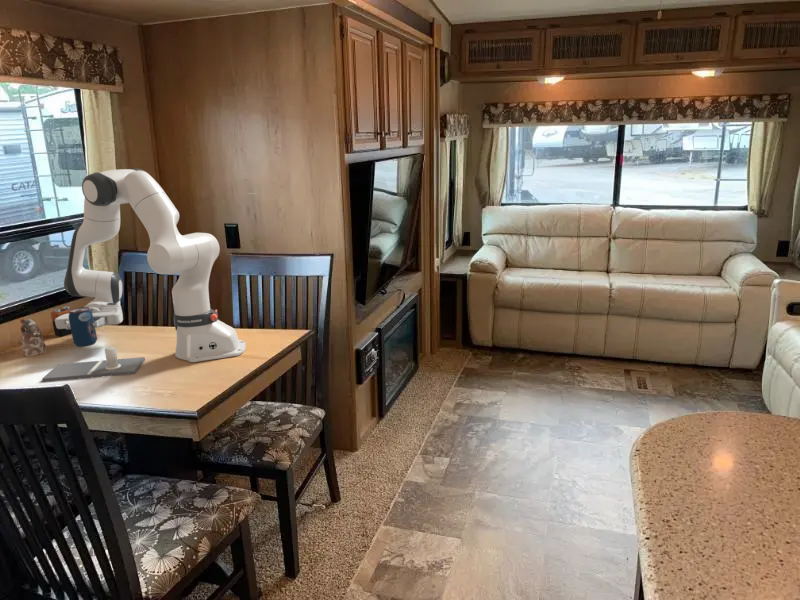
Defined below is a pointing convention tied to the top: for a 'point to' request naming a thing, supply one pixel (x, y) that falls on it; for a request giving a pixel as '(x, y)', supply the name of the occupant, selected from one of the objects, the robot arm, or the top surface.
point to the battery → (56, 314)
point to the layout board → (95, 367)
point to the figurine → (31, 338)
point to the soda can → (82, 327)
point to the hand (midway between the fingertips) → (81, 325)
